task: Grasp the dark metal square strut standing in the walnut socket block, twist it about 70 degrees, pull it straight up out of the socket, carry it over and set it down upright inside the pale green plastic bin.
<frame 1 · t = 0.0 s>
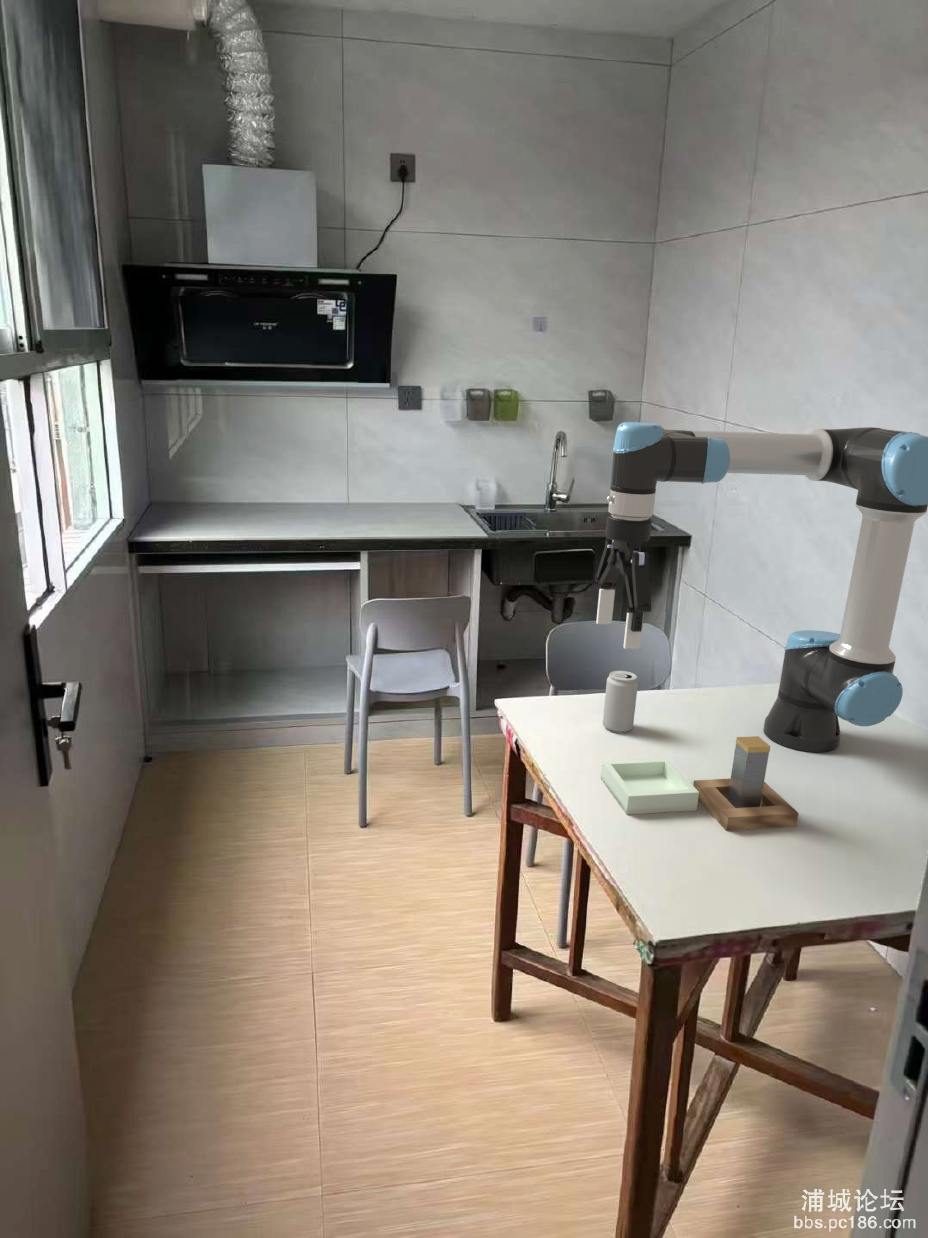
hand: (617, 635, 153), 28 cm above the table, fingers open, 13 cm apart
socket block: (742, 808, 153), on the table
bin: (647, 793, 156), on the table
strut: (742, 809, 153), resting in socket block
beverage can: (617, 728, 183), on the table
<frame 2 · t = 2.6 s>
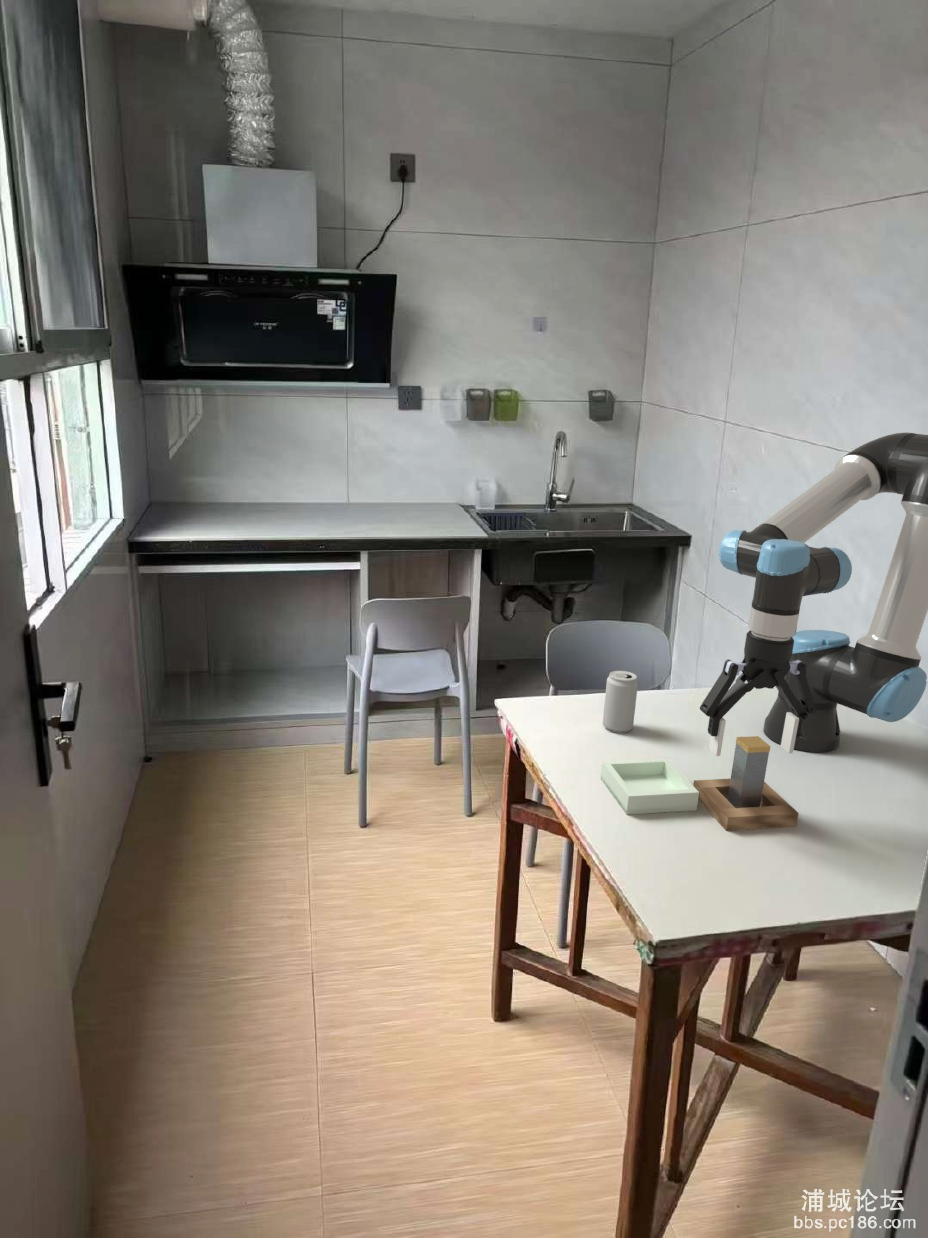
hand: (750, 751, 149), 11 cm above the table, fingers open, 13 cm apart
nothing on the table moved.
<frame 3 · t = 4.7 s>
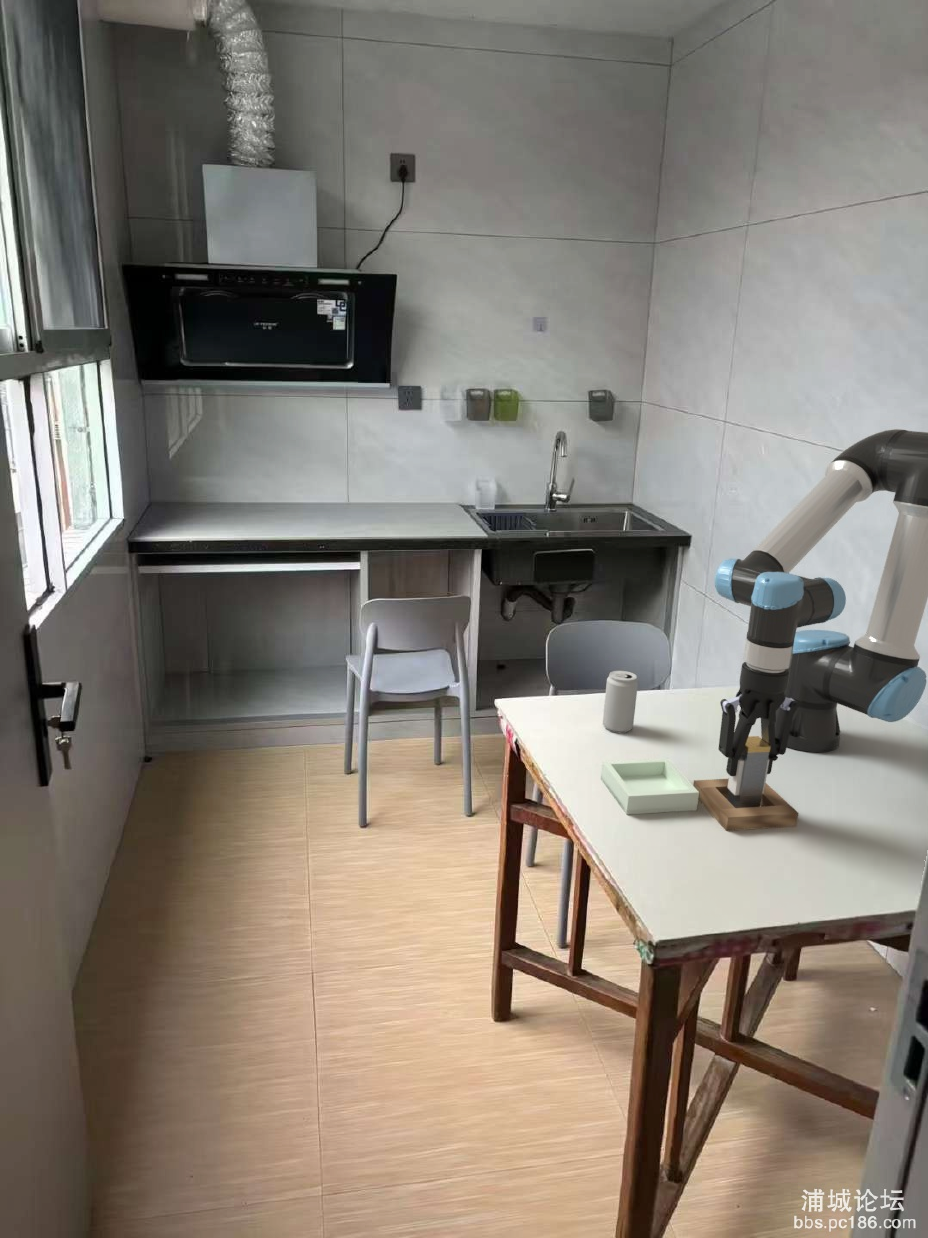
hand: (745, 790, 151), 4 cm above the table, fingers closed on strut, 4 cm apart
strut: (742, 808, 153), resting in socket block, touching gripper
everything else where it was.
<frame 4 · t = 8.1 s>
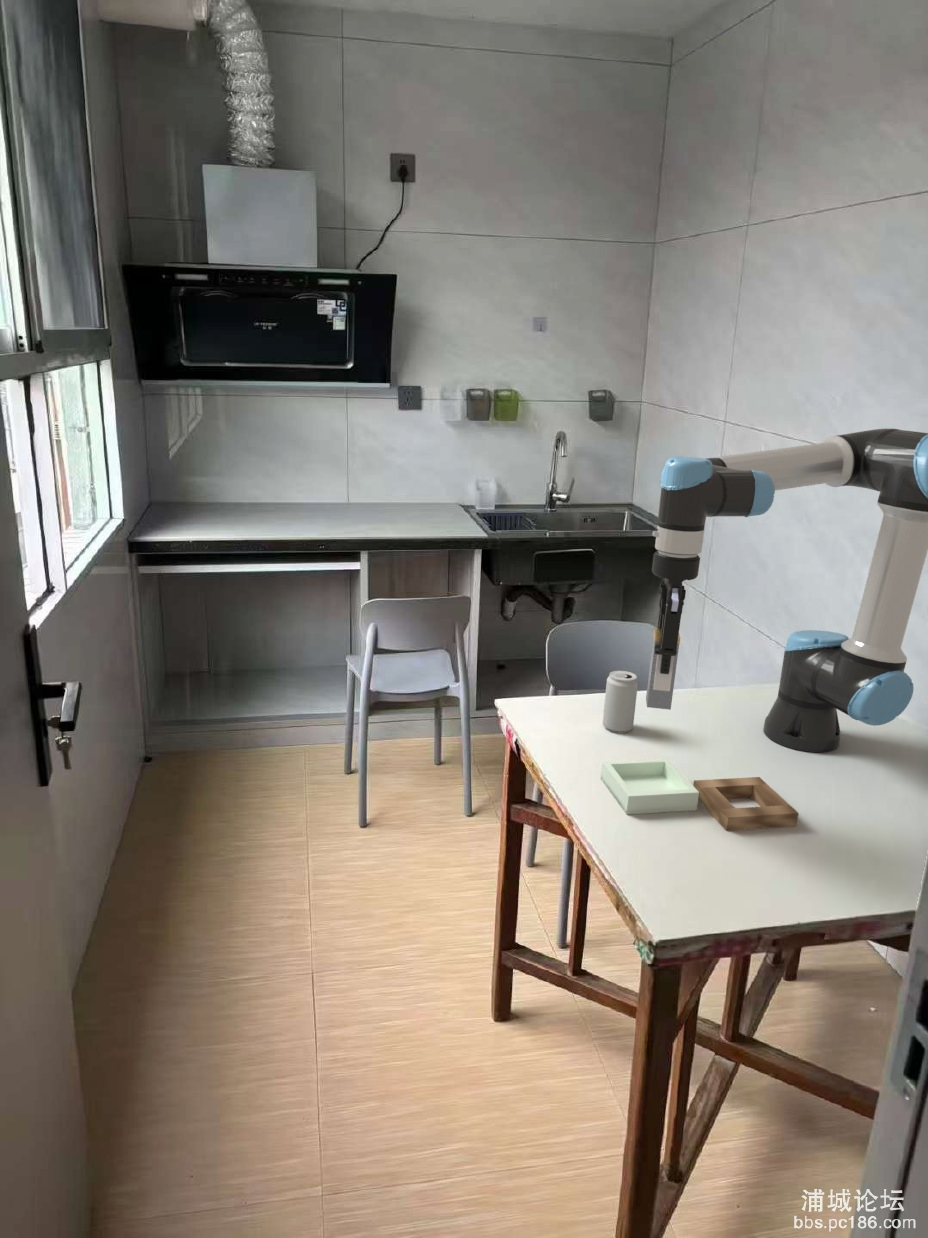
hand: (660, 684, 150), 21 cm above the table, fingers closed on strut, 4 cm apart
strut: (658, 703, 151), point 18 cm above the table, touching gripper
everything else where it was.
when the fingers open (6 cm above the table, at t = 11.5 s): strut drops 1 cm, resting on bin.
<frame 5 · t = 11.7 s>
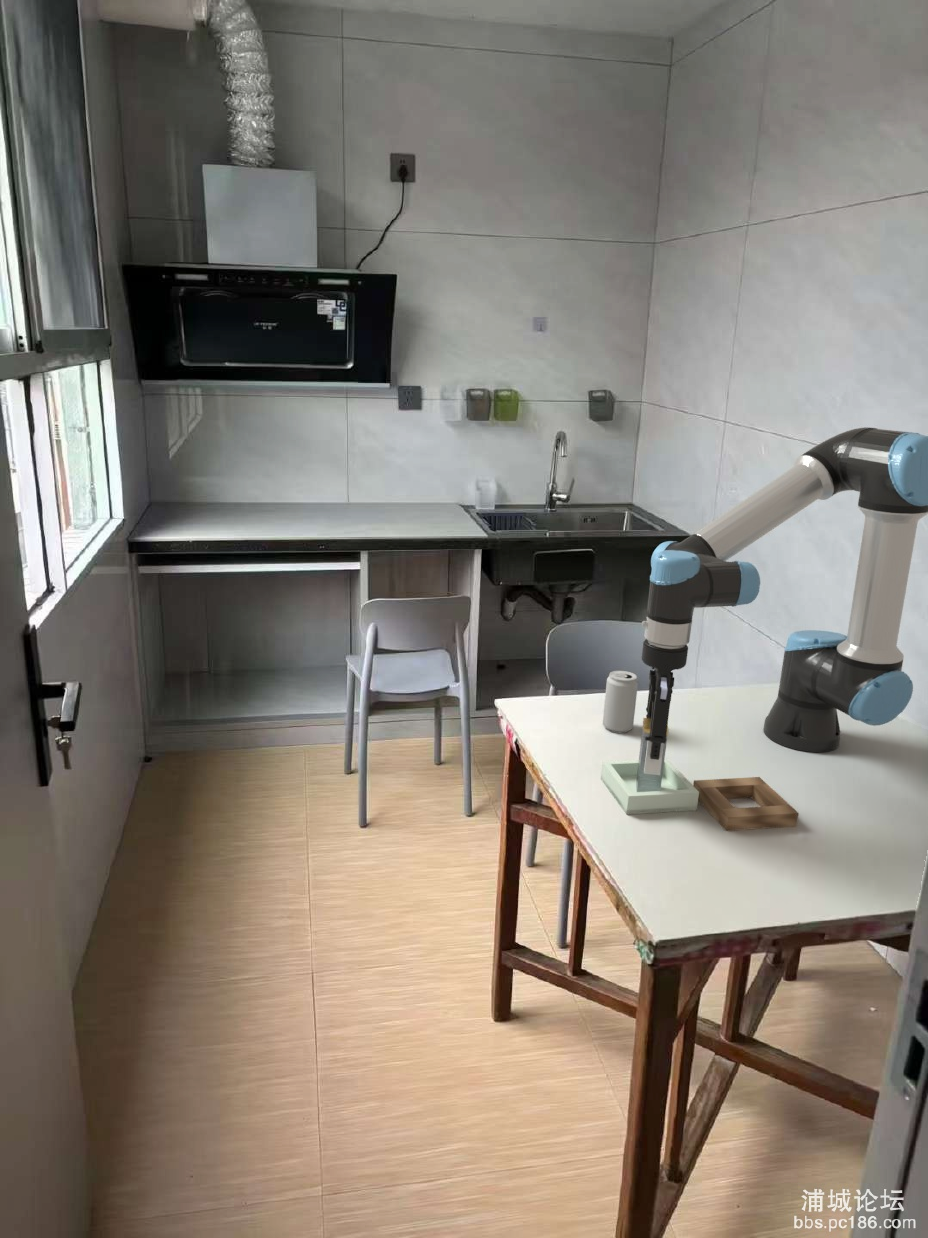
hand: (650, 763, 154), 6 cm above the table, fingers open, 7 cm apart
strut: (647, 789, 156), point 1 cm above the table, touching bin
everything else where it was.
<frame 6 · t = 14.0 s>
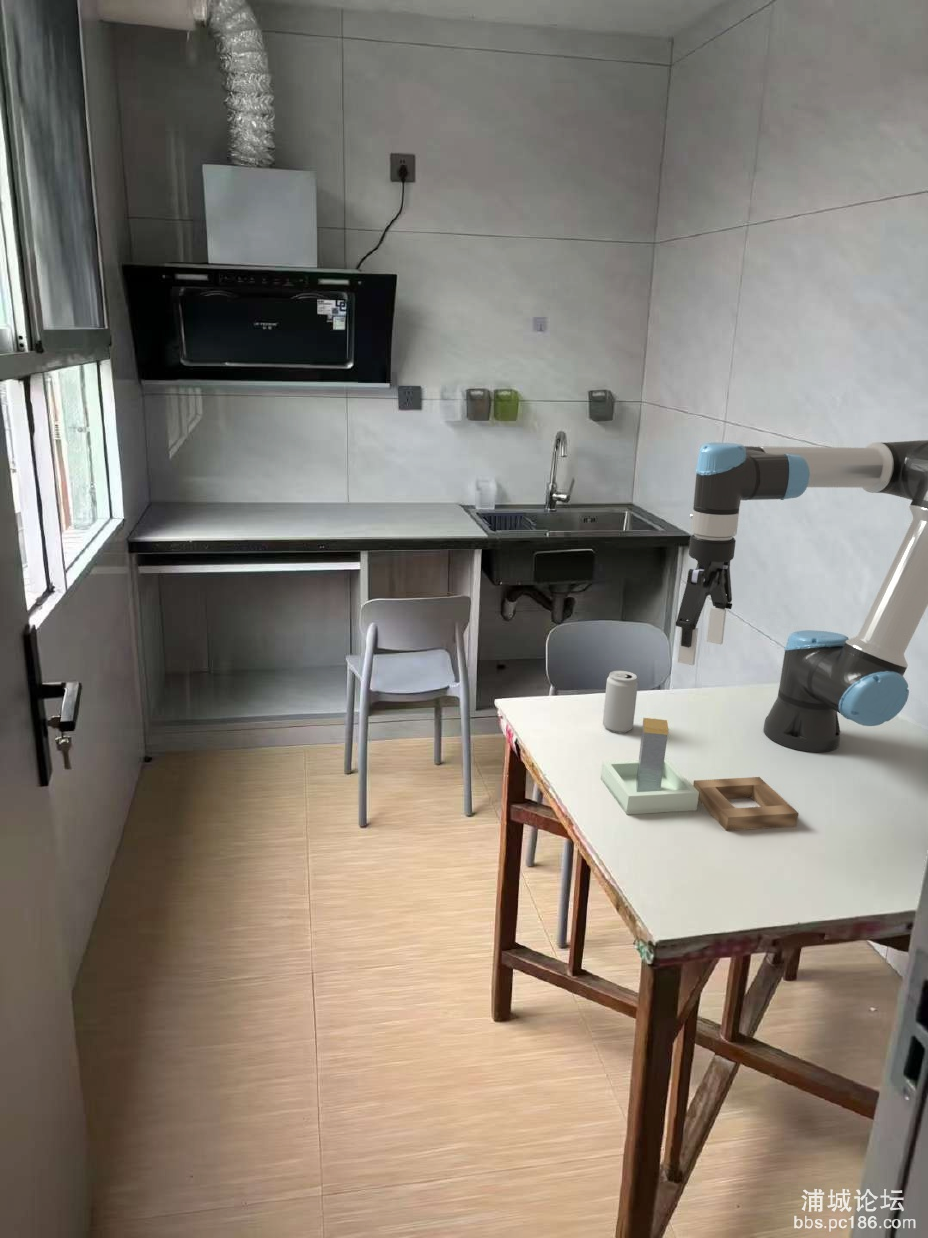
hand: (700, 652, 154), 25 cm above the table, fingers open, 13 cm apart
nothing on the table moved.
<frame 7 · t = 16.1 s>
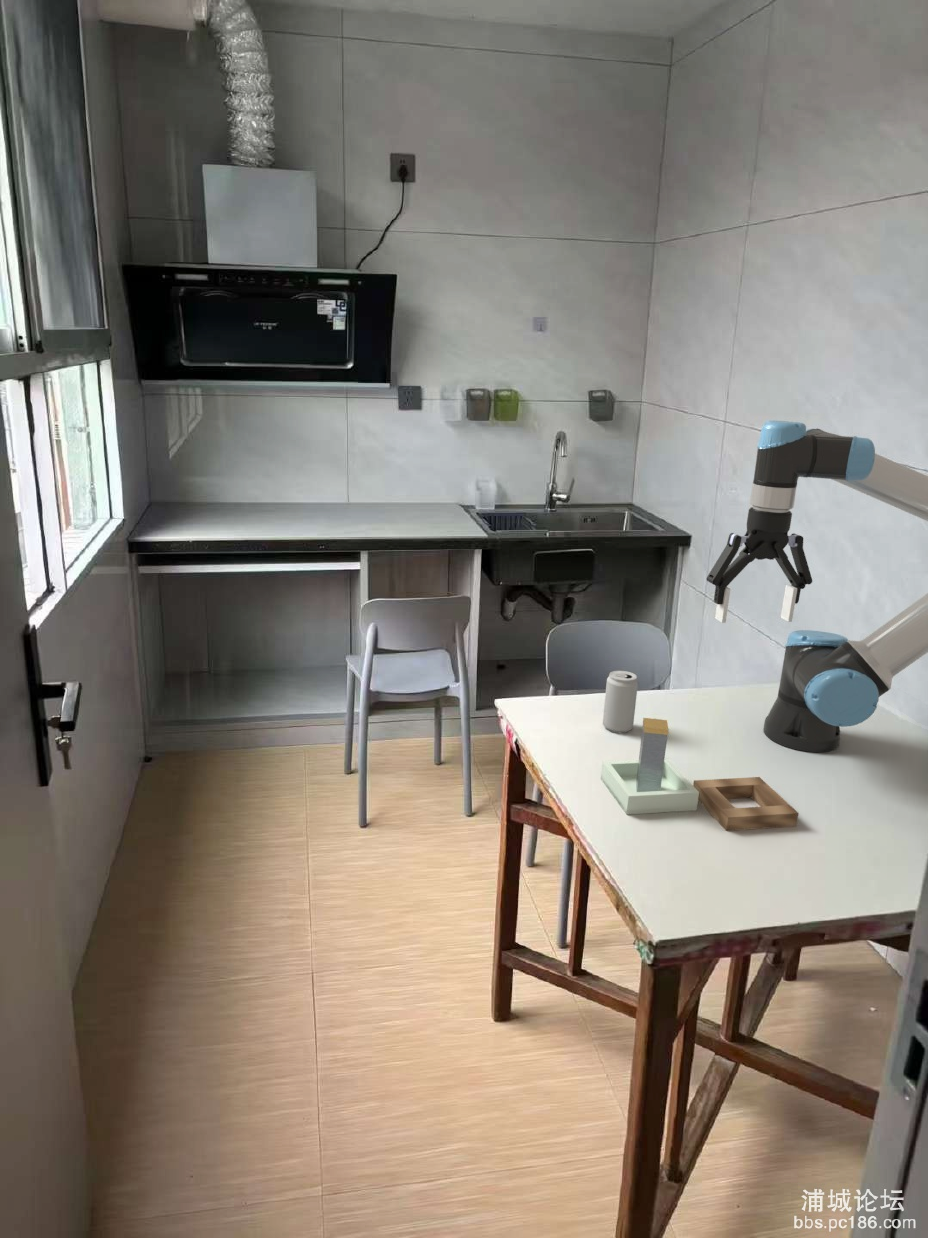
hand: (753, 620, 163), 29 cm above the table, fingers open, 13 cm apart
nothing on the table moved.
at the end: strut inside the target area on the bin (0.0 cm from its centre), point 0.8 cm above the bin's base; strut tilted 0°; the gripper is holding nothing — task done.
